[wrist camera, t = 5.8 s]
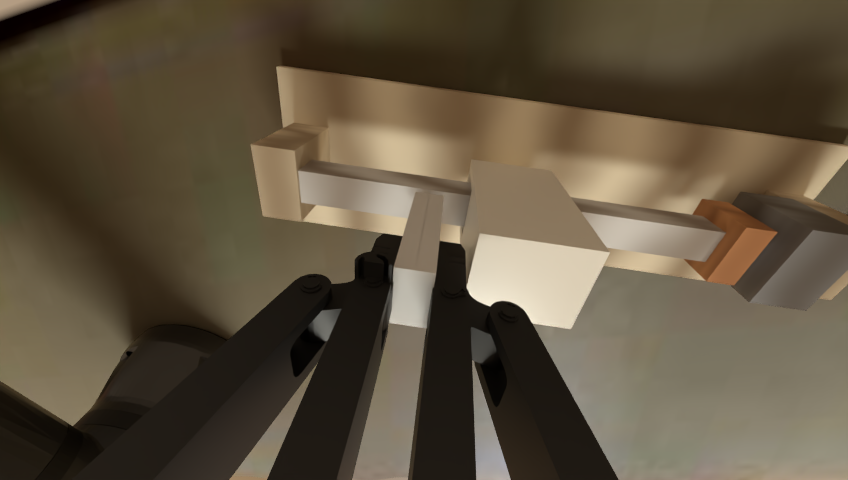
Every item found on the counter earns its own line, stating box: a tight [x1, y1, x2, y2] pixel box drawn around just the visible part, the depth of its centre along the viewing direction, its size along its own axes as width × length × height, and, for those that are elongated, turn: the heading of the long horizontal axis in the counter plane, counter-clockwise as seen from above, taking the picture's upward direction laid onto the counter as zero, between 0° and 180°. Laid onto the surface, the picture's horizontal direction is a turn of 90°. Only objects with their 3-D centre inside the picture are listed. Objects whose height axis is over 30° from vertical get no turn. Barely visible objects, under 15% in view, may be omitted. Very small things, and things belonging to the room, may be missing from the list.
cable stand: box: [251, 66, 848, 311], centre depth 20 cm, size 36×11×7 cm, turn 83°
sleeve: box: [460, 159, 610, 329], centre depth 17 cm, size 5×4×9 cm
